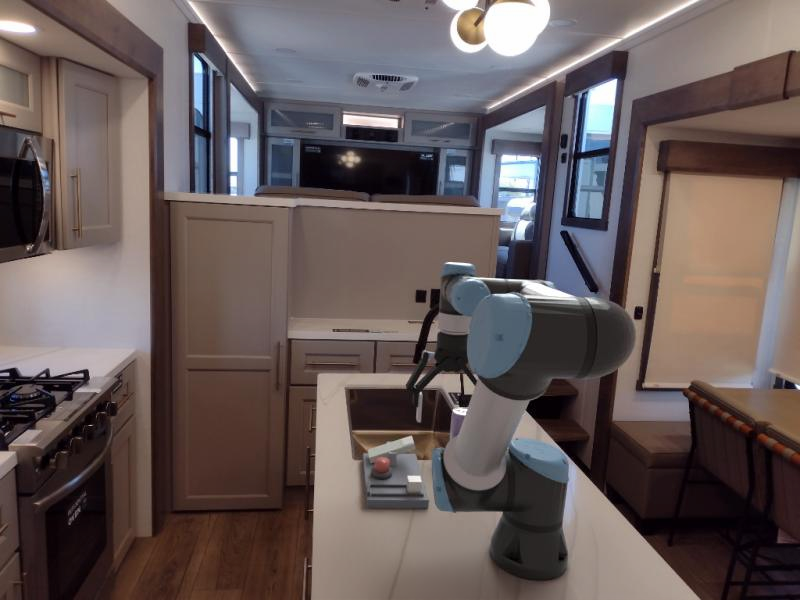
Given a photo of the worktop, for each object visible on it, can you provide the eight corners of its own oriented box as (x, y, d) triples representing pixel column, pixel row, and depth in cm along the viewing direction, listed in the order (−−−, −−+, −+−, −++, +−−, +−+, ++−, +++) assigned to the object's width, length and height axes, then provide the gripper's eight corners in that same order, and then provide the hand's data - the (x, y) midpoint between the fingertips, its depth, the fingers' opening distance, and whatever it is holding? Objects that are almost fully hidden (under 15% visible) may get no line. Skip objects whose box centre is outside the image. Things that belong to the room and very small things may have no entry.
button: (389, 473, 140) (390, 463, 140) (374, 473, 140) (375, 463, 139) (388, 466, 144) (388, 457, 143) (373, 466, 143) (374, 457, 143)
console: (428, 508, 131) (430, 485, 130) (366, 508, 130) (367, 485, 129) (415, 460, 155) (416, 441, 154) (362, 460, 153) (363, 440, 152)
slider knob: (420, 494, 133) (421, 482, 133) (408, 494, 133) (408, 481, 133) (419, 487, 136) (420, 475, 136) (406, 487, 136) (407, 475, 135)
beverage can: (471, 470, 151) (476, 416, 149) (448, 469, 151) (452, 414, 149) (469, 460, 157) (473, 407, 155) (447, 459, 157) (451, 406, 155)
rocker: (415, 449, 147) (413, 442, 147) (370, 463, 147) (368, 457, 147) (413, 440, 152) (411, 434, 152) (369, 454, 152) (367, 449, 151)
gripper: (503, 329, 136) (495, 416, 139) (397, 325, 133) (392, 414, 136) (512, 336, 128) (504, 427, 132) (400, 332, 126) (395, 425, 129)
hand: (447, 421), depth 134 cm, fingers open, 13 cm apart
